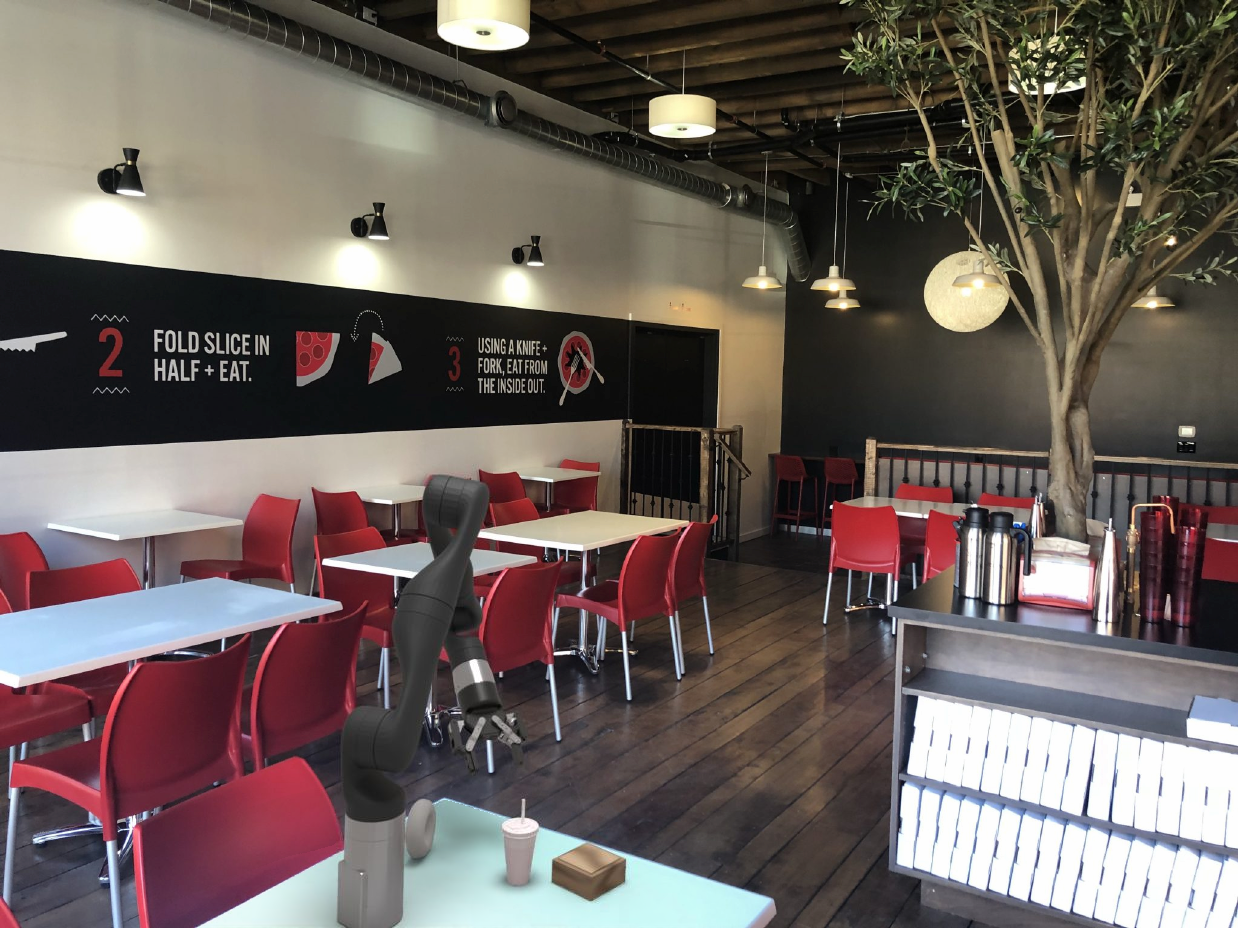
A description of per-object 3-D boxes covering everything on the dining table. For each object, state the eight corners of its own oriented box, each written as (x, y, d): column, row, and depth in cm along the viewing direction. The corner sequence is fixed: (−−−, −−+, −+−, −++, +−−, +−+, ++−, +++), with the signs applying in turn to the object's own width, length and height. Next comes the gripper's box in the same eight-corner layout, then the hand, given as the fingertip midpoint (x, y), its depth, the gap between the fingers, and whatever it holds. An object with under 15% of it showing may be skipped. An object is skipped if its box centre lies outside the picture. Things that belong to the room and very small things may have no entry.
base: (590, 900, 156) (591, 875, 156) (551, 881, 162) (552, 857, 162) (625, 881, 163) (626, 857, 163) (586, 863, 169) (587, 840, 169)
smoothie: (544, 880, 162) (547, 801, 161) (516, 893, 157) (519, 811, 157) (520, 867, 167) (522, 789, 166) (491, 879, 162) (494, 799, 161)
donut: (419, 841, 175) (421, 789, 174) (437, 843, 174) (439, 790, 174) (401, 867, 165) (402, 811, 164) (420, 869, 164) (422, 813, 164)
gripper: (445, 683, 173) (466, 766, 164) (516, 675, 180) (540, 754, 171) (434, 703, 178) (454, 785, 168) (504, 694, 185) (527, 772, 176)
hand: (498, 769), depth 170 cm, fingers open, 8 cm apart
